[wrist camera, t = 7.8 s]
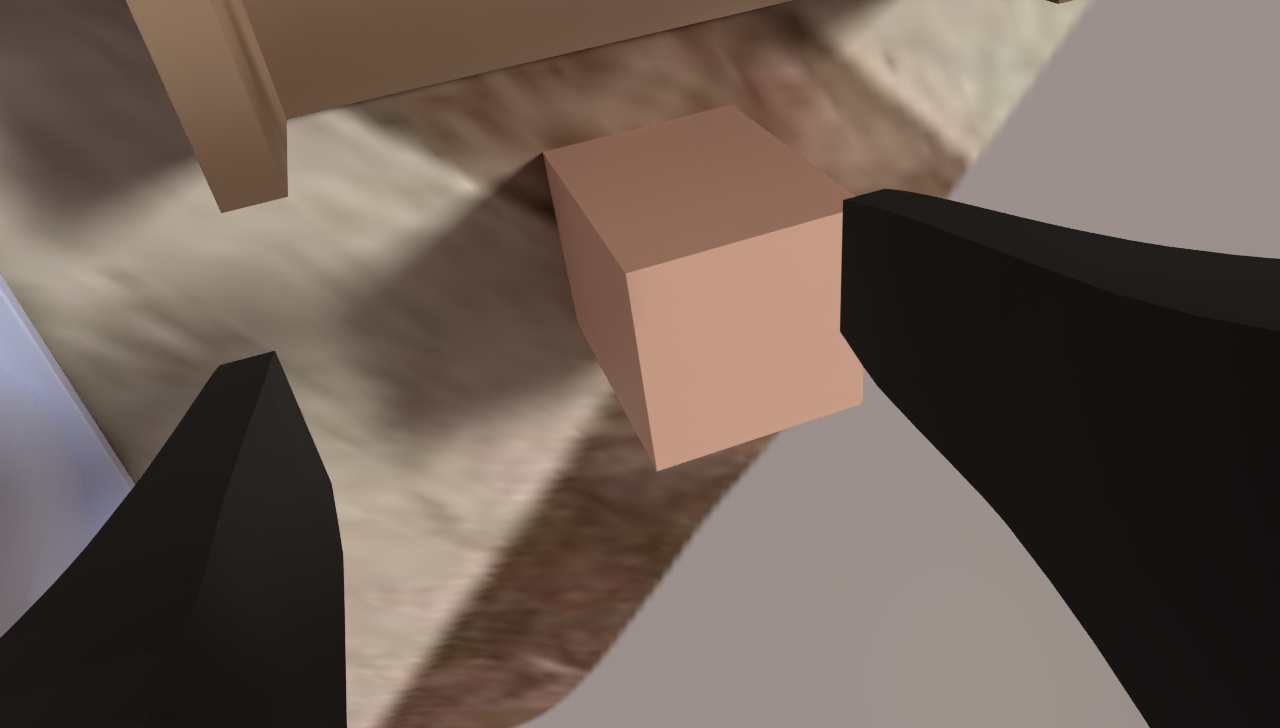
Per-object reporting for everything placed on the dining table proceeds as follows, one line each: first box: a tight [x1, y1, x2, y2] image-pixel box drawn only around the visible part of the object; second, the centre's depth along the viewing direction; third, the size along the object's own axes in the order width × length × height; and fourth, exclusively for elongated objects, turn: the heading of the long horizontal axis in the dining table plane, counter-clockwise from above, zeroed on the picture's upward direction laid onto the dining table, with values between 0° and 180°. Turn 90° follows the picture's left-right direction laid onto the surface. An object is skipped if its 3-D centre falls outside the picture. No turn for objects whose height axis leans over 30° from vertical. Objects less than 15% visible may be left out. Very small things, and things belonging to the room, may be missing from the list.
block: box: [543, 105, 863, 471], centre depth 19 cm, size 4×4×6 cm
